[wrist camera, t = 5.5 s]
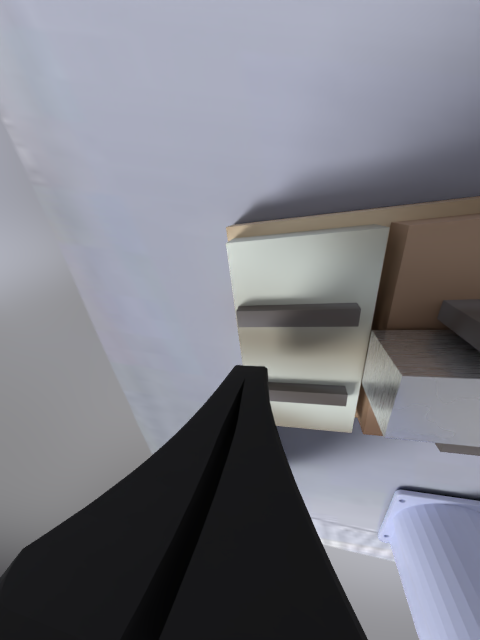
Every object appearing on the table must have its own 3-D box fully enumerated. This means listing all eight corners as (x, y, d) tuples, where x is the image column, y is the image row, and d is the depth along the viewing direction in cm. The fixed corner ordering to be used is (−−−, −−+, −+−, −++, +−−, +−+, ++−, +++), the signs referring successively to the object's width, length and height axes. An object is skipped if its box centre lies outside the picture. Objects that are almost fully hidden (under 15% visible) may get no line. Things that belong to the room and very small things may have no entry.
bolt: (488, 389, 9) (559, 454, 7) (361, 383, 10) (383, 437, 8) (522, 329, 8) (624, 384, 6) (371, 330, 9) (402, 375, 7)
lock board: (454, 405, 14) (543, 513, 9) (253, 393, 17) (239, 468, 12) (559, 186, 8) (926, 163, 4) (233, 224, 11) (192, 239, 6)
